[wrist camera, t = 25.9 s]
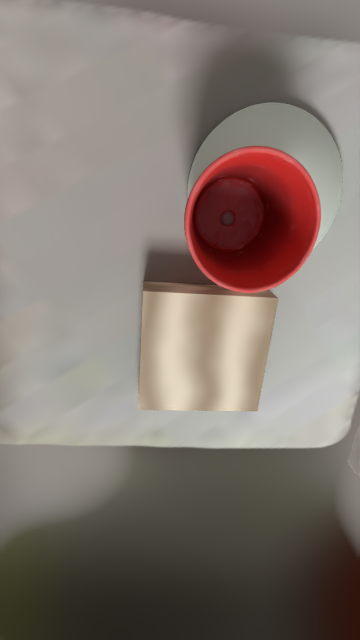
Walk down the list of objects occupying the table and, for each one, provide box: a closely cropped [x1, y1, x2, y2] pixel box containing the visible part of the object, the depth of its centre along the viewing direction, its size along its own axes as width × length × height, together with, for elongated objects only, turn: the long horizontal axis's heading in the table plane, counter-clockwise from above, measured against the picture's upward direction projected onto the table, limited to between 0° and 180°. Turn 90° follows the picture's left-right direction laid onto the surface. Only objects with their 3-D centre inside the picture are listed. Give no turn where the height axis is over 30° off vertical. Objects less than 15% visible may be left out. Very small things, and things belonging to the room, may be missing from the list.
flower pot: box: [184, 146, 321, 293], centre depth 31 cm, size 11×11×10 cm
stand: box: [138, 281, 278, 411], centre depth 39 cm, size 14×14×4 cm
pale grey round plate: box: [187, 102, 343, 248], centre depth 35 cm, size 16×16×1 cm
